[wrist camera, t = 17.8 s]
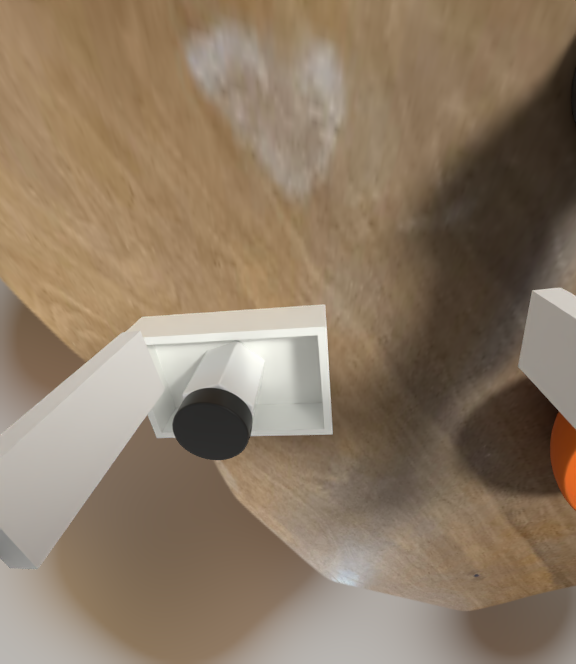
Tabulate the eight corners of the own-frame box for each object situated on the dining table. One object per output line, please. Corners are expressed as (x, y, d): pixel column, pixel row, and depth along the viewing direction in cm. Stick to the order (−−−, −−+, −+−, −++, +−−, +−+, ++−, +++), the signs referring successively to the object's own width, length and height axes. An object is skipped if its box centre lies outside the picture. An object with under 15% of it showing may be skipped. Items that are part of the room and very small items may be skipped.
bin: (325, 304, 40) (326, 326, 35) (330, 403, 47) (332, 434, 42) (141, 316, 43) (117, 339, 38) (173, 408, 50) (156, 438, 45)
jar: (219, 399, 47) (192, 468, 37) (192, 353, 44) (153, 415, 33) (277, 383, 45) (264, 452, 34) (253, 334, 42) (231, 393, 31)
